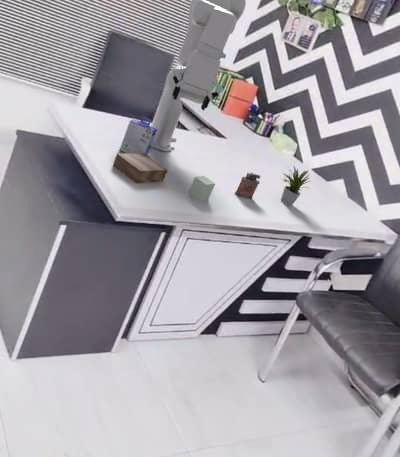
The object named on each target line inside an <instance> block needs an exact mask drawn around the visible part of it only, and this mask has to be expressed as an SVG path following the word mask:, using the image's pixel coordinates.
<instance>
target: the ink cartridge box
mask: <svg viewBox="0 0 400 457" xmlns="http://www.w3.org/2000/svg"><path fill="white" fill-rule="evenodd" d="M147 121H148V122H147ZM152 122H153V120H152V119H149V118H147V117H146V116H142V118H141V119H140V120H138V119H136V118H133V119H131V120H129V123H128V125H127V128H126V130H125V133H124V136H123V139H122V142H121V145H120V147H119V151H121V152H123V153H124V154H146V155H148V156H149V153H150V150H151V148H152V147H151V145H152V142H153V140H154V137H155V135H156V132H157V129H156V128H154V127H151V124H152Z"/></svg>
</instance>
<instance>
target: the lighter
mask: <svg viewBox="0 0 400 457" xmlns="http://www.w3.org/2000/svg"><path fill="white" fill-rule="evenodd" d="M258 179H259V180H260V179H261V175H260V174H256V173H255V174H254V172H247V173H246V175H245V176H242V177H241V181H240V182H239V185H238V187H237V189H236V190H235V192H234V195H235V196H236V197H238V198H242V199H247V200H252V199H253V196H254V194H255V192H256V191H257V190H256V189H257V188H258V186H259V184H260V181H259V180H258Z"/></svg>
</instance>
